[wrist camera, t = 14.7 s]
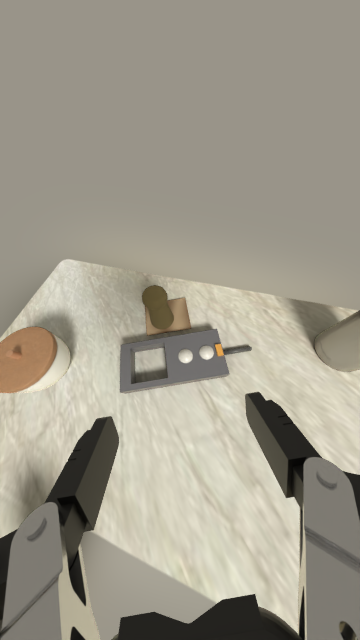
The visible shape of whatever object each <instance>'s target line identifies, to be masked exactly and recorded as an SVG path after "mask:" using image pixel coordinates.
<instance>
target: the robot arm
mask: <svg viewBox="0 0 360 640" xmlns="http://www.w3.org/2000/svg"><path fill="white" fill-rule="evenodd" d="M314 346H315V350H316V352H317V354H318V356H319V357H320V359H321V360H322V361H323V362H324V363H326V364H327V365H328V366H330V367H332V368H333V369H336V370H338V371H343V372H351V371H356V370H360V310H359V311H358V312H356V313H354V314H352V315H351V316H349V317H347V318H346V319H344V320H342V321H340V322H339V323H337V324H335V325H334V326H332V327H330V328H328V329H327V330H325V331H323V332H322V333H320V334H319V335H318V336H317V337H316V339H315V343H314ZM245 399H246V416H247V420H248V423H249V425H250V427H251V429H252V431H253V433H254V435H255V437H256V439H257V441H258V443H259V445H260V447H261V449H262V451H263V453H264V455H265V457H266V459H267V461H268V463H269V465H270V467H271V469H272V471H273V473H274V475H275V477H276V479H277V481H278V483H279V485H280V487H281V489H282V491H283V493H284V495H285V497H286V498H290V497H295V499H296V501H297V503H298V505H299V506H300V534H299V590H298V634H297V633H296V631H294V630H293V629H292V628H291V627H290V626H289V625H288V624H287V623H286V622H285V621H283V620H282V619H281V618H279V617H278V616H277V615H275V614H274V613H272V612H270V611H268V610H266V609H264V608H261V607H258V604H257V600H256V596H255V594H253V595H247V596H241V597H236V598H230V599H224V600H221V601H220V602H219V603H217V604H216V605H215V606H214V607H212V608H211V609H210V610H208V611H207V612H205V613H204V614H203V615H201V616H200V617H199V618H197V619H196V620H195V621H193V622H192V623H189V624H187V623H183V622H180V621H178V620H175V619H172V618H169V617H166V616H164V615H161V614H158V613H156V612H151V613H145V614H139V615H134V616H128V617H122V618H121V620H120V628H119V633H118V634H117V635H116V636H115V637H114V638H113V639H112V640H360V475H357V474H351V473H347V472H344V471H342V470H340V469H339V468H338V467H337V466H336V465H334V464H333V463H331V462H329V461H327V460H325V459H323V458H322V457H321V456H320V455H319V454H318V453H317V451H316V450H315V449H314V448H313V446H312V445H311V444H310V443H309V441H308V440H307V439H306V438H305V436H304V435H303V434H302V433H301V431H300V430H299V429H298V428H297V426H296V425H295V424H294V423H293V421H292V420H291V419H290V418H289V417H288V416H287V414H286V413H285V411H284V410H283V409H282V408H281V406H279V405H278V404H276V403H275V402H273V401H272V400H268V401H266V400H265V399H264V397H263V396H262V395H261V393H260V392H254V393H248V394H246V395H245ZM118 445H119V437H118V433H117V430H116V427H115V424H114V422H113V419H112V417H111V416H109V417H103V418H98V419H96V420H95V422H94V424H93V426H92V428H91V430H87V431H86V432H85V433H84V435H83V436H82V437H81V438H80V439H79V440H78V442H77V444H76V446H75V448H74V450H73V453H71V455H70V457H69V459H68V462H67V463H66V464H65V466H64V468H63V470H62V472H61V474H60V476H59V477H58V479H57V481H56V483H55V485H54V487H53V489H52V490H51V492H50V494H49V496H48V498H47V500H46V501H45V503H44V504H43V505H41V506H39V507H38V508H36V509H35V510H34V511H33V512H32V513H31V514H30V515H29V516H28V517H27V518H26V519H25V520H24V521H23V523H22V524H21V525H20V527H19V528H18V529H17V530H15V531H13V532H11V533H10V534H8V535H6V536H4V537H2V538H0V640H100V636H99V632H98V628H97V625H96V622H95V619H94V616H93V613H92V609H91V604H90V598H89V592H88V587H87V580H86V574H85V569H84V562H83V556H82V550H81V546H80V541H81V539H82V536H83V533H84V532H85V531H91V530H94V527H95V524H96V520H97V517H98V514H99V510H100V507H101V503H102V500H103V497H104V493H105V490H106V486H107V483H108V480H109V476H110V473H111V470H112V466H113V463H114V459H115V456H116V453H117V449H118Z"/></svg>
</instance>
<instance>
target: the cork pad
mask: <svg viewBox="0 0 360 640" xmlns="http://www.w3.org/2000/svg"><path fill="white" fill-rule="evenodd" d="M167 303H168V305H169V307H170V309H171V311H172V313H173V315H174V321H173V323H172V325H171V326H170V327H168V328H166V329H157V328H155V327H154V326H153V325H152V323H151V320H150V315H149V311H148V308H147V307H146V306H145V312H146V329H147V336H149V335H155V334H161V333H167V332H173V331H179V330H185V329H191V325H190V320H189V315H188V310H187V305H186V300H185V298H181V299H175V300H169V301H167Z"/></svg>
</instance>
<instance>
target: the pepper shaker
mask: <svg viewBox="0 0 360 640" xmlns="http://www.w3.org/2000/svg"><path fill="white" fill-rule="evenodd" d="M142 301H143V303H144V305H145V306H146V307H147V308H148V311H149V315H150V320H151V323H152V325H153V326H154V327H155V328H157V329H166V328H168V327H170V326H171V325H172V323H173V321H174V315H173V313H172V311H171V309H170V307H169V305H168V303H167V293H166V291H165V290H164V289H163V288H162V287H160V286H156V285H154V286H150V287H148V288H146V289H145V291H144V292H143V295H142Z"/></svg>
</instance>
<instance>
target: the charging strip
mask: <svg viewBox="0 0 360 640" xmlns="http://www.w3.org/2000/svg"><path fill="white" fill-rule="evenodd" d="M163 347H165V354H166V363H167V372H168V378H164V379H158V380H152V381H146V382H141V383H135V352H139V351H145V350H151V349H157V348H163ZM251 350H252V348H251V347H250V346H248V347H242V348H236V349H230V350H224V351H223V349H222V346H221V342H220V338H219V335H218V331H217V329H213V330H207V331H201V332H195V333H189V334H183V335H177V336H171V337H165V338H159V339H153V340H147V341H141V342H135V343H129V344H123V345H121V359H120V392H121V393H131V392H137V391H143V390H149V389H155V388H161V387H167V386H173V385H179V384H185V383H191V382H197V381H203V380H209V379H215V378H220V377H226V376H228V375H229V371H228V367H227V363H226V360H225V356H224V355H228V354H233V353H239V352H245V351H251Z"/></svg>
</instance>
